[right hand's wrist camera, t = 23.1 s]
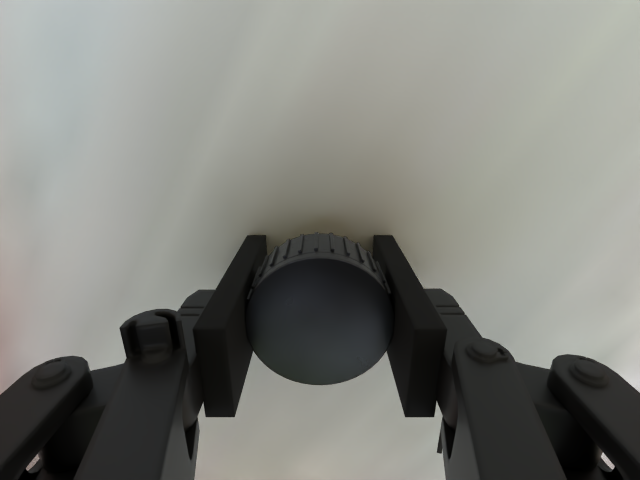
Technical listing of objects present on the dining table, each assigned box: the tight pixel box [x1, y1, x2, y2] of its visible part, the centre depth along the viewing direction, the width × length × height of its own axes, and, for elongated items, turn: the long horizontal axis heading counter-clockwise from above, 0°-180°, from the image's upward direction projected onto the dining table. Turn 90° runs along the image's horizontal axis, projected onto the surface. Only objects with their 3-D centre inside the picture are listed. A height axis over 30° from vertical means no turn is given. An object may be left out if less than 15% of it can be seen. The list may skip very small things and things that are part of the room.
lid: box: [245, 232, 395, 385], centre depth 11 cm, size 5×5×2 cm
